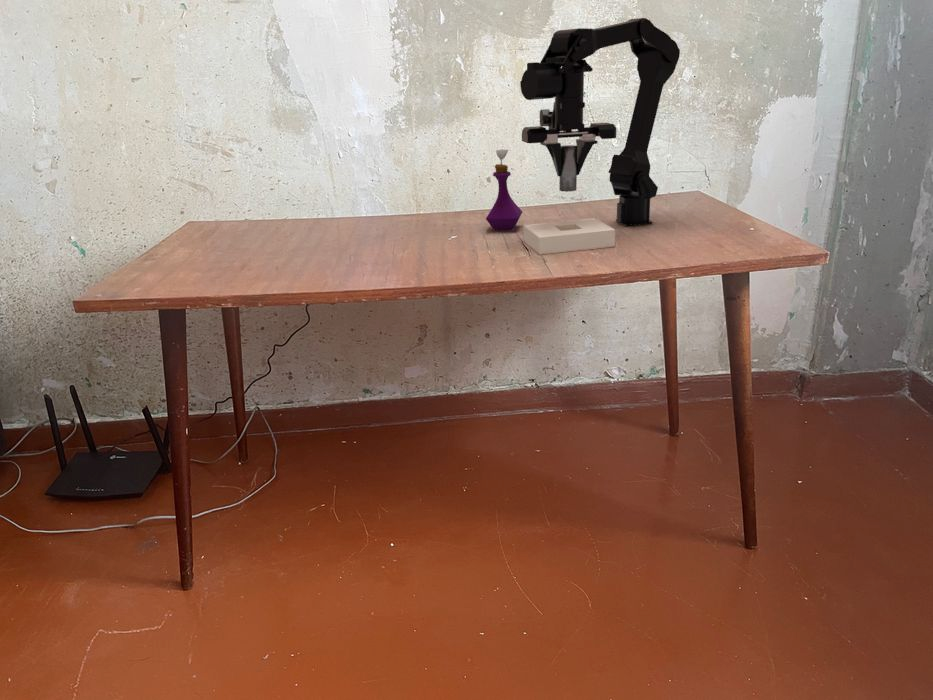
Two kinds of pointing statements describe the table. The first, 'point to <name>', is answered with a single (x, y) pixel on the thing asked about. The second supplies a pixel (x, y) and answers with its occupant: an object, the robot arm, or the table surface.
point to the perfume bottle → (503, 201)
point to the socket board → (569, 236)
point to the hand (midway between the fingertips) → (568, 175)
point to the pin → (568, 168)
